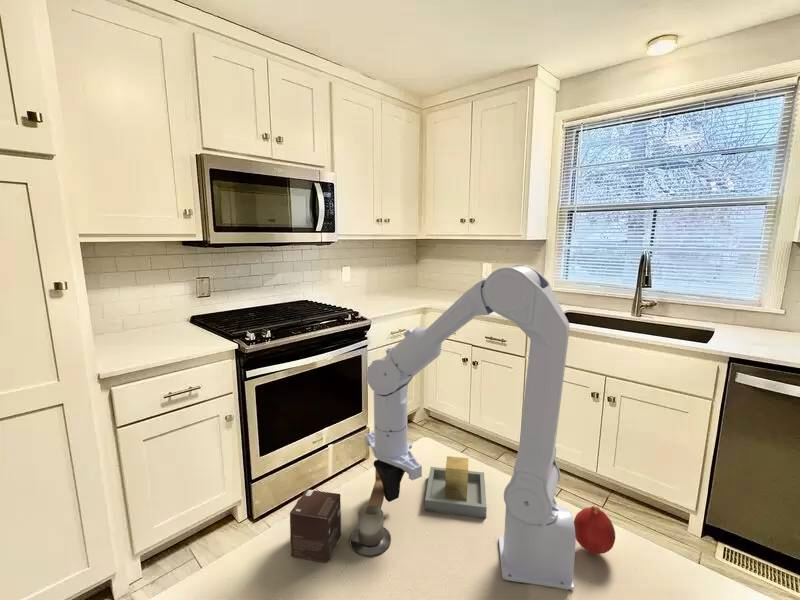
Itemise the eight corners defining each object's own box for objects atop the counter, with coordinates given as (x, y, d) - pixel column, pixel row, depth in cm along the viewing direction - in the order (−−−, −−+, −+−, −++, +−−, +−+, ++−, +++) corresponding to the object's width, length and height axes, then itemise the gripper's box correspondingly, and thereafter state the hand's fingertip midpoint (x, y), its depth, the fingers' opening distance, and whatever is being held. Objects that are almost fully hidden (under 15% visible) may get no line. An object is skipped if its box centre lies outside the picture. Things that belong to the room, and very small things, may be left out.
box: (327, 564, 58) (327, 519, 57) (289, 557, 59) (288, 513, 58) (341, 535, 64) (341, 493, 63) (307, 529, 65) (306, 488, 64)
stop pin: (467, 487, 75) (468, 458, 75) (466, 500, 72) (468, 470, 71) (446, 485, 76) (447, 456, 75) (444, 498, 72) (445, 467, 71)
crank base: (394, 529, 65) (394, 526, 65) (386, 559, 59) (386, 556, 59) (356, 524, 66) (356, 521, 66) (345, 553, 60) (345, 550, 60)
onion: (576, 533, 65) (579, 488, 63) (615, 549, 61) (620, 502, 60) (567, 555, 60) (571, 507, 59) (609, 574, 57) (614, 524, 55)
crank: (381, 547, 60) (381, 515, 59) (355, 544, 61) (355, 513, 60) (394, 489, 74) (394, 463, 73) (373, 487, 75) (373, 462, 74)
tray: (483, 481, 78) (483, 472, 78) (486, 517, 68) (486, 507, 68) (430, 475, 80) (430, 466, 80) (424, 510, 70) (425, 500, 69)
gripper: (436, 434, 64) (436, 511, 66) (386, 405, 75) (387, 471, 77) (401, 446, 60) (401, 528, 61) (354, 414, 71) (355, 484, 73)
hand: (391, 498), depth 69 cm, fingers closed, pressing on crank
